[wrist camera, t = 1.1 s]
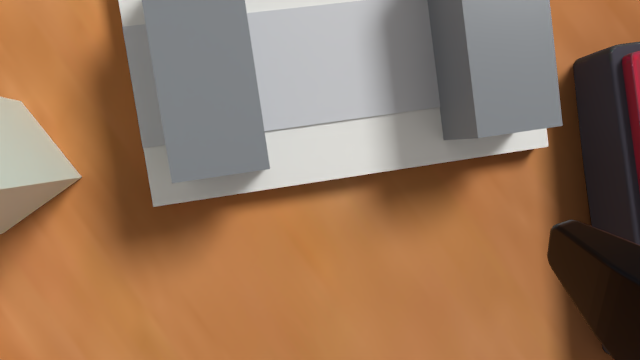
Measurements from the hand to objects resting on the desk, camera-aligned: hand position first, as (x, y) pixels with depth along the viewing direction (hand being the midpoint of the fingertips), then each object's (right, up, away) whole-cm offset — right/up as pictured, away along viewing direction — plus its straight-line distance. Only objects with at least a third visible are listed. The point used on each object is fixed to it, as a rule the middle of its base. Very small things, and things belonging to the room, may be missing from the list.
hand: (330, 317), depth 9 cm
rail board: (+1, +8, +14) cm, 16 cm away
